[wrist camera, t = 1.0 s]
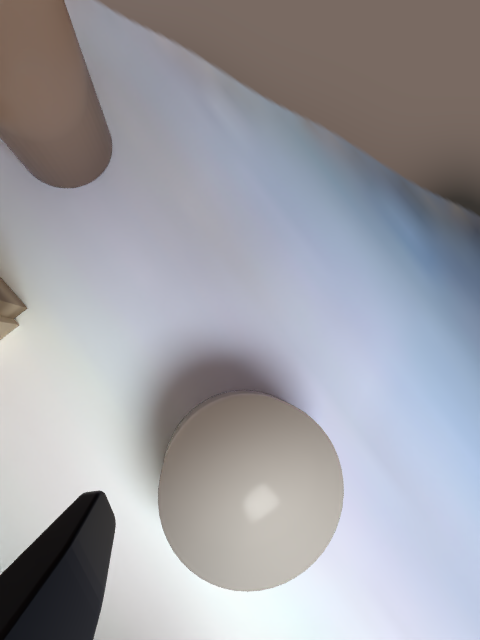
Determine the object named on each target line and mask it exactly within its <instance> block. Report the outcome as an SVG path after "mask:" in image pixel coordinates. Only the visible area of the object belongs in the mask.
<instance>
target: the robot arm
mask: <svg viewBox="0 0 480 640" xmlns="http://www.w3.org/2000/svg"><path fill="white" fill-rule="evenodd" d="M115 525H116V522H115V516H114V513H113V511H112V509H111V507H110V504H109V502H108V500H107V497H106V495H105V493H104V492H102V491H92V492H85V493H83V494H82V495H80V496H79V497H78V498H77V499H76V500H75V501H74V502H73V503H72V504H71V505H70V506H69V507H68V508H67V509H66V510H65V511H64V512H63V513H62V514H61V515H60V516H59V517H58V518H57V519H56V520H55V521H54V522H53V523H52V524H51V525H50V526H49V527H48V528H47V529H46V530H45V531H44V532H43V533H42V534H41V535H40V536H39V537H38V538H37V539H36V540H35V541H34V542H33V543H32V544H31V545H30V546H29V547H28V548H27V549H26V550H25V551H24V552H23V553H22V554H21V555H20V556H19V557H18V558H17V559H16V560H15V561H14V562H13V563H12V564H11V565H10V566H9V567H8V568H7V569H6V570H5V571H4V572H3V573H2V574H1V575H0V640H93V638H94V634H95V631H96V627H97V623H98V619H99V615H100V611H101V607H102V602H103V597H104V592H105V586H106V580H107V574H108V568H109V563H110V557H111V551H112V545H113V539H114V533H115Z"/></svg>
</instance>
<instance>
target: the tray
mask: <svg viewBox="0 0 480 640" xmlns="http://www.w3.org/2000/svg"><path fill="white" fill-rule="evenodd" d="M26 309H27V307H26V306H25V305H24V304H23V302H22V301H21V300H20V299H19V298H18V297H17V296H16V294H15V293H14V292H13V291H12V290H11V289H10V288H9V286H8V285H7V284H6V283H5V282H4V281H3V280H2V278H1V277H0V340H1V339H2V338H3V337H5V336H6V335H7V334H9V333H10V332H11V331H12V330H14V329H15V328H16V327H18V326H19V324H18V323H17V322H16V321H15V319H14V318H16V317H17V316H18V315H20V314H21V313H22V312H23V311H25V310H26Z"/></svg>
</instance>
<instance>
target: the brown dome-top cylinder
mask: <svg viewBox="0 0 480 640" xmlns="http://www.w3.org/2000/svg"><path fill="white" fill-rule="evenodd" d="M0 138H1V139H2V140H3V142H4V143H5V144H6V145H7V146H8V147H9V149H10V150H11V151H12V152H13V153H14V154H15V155H16V157H17V158H18V159H19V160H20V161H21V162H22V164H23V165H24V166H25V167H26V168H27V169H28V171H29V172H30V173H31V174H32V175H33V176H35V177H36V178H37V179H38V180H40V181H42V182H43V183H46V184H48V185H51V186H54V187H59V188H76V187H80V186H83V185H86V184H88V183H90V182H92V181H94V180H95V179H97V178H98V177H99V176H100V175H101V174H102V173H103V172H104V170H105V169H106V167H107V166H108V164H109V162H110V159H111V155H112V138H111V134H110V132H109V129H108V126H107V123H106V120H105V117H104V114H103V111H102V109H101V106H100V103H99V100H98V97H97V94H96V91H95V89H94V86H93V83H92V80H91V77H90V74H89V71H88V68H87V66H86V63H85V60H84V57H83V54H82V51H81V48H80V46H79V43H78V40H77V37H76V34H75V31H74V28H73V25H72V23H71V20H70V17H69V14H68V11H67V8H66V5H65V3H64V0H0Z"/></svg>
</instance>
